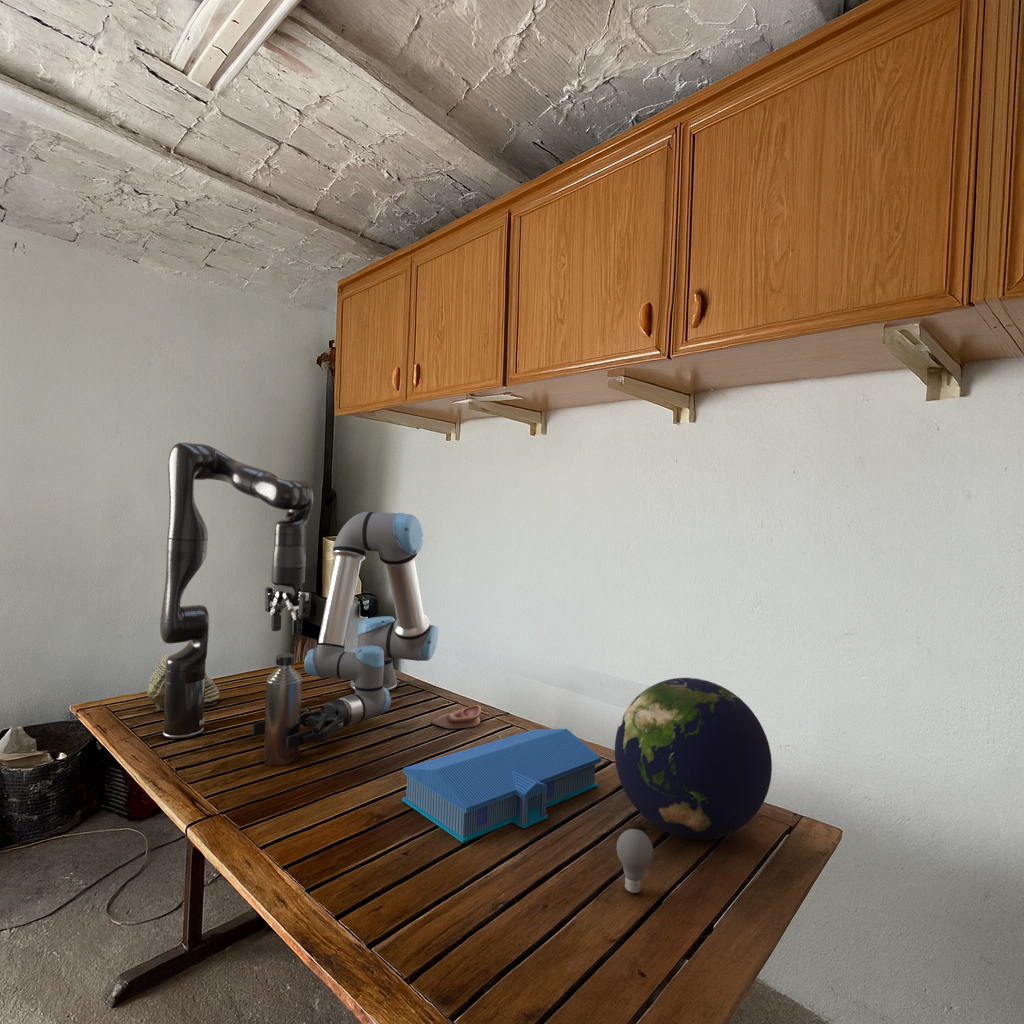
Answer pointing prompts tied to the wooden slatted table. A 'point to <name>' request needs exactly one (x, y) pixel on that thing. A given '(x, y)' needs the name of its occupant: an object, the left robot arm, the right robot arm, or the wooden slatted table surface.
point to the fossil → (158, 687)
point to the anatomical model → (460, 718)
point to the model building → (501, 782)
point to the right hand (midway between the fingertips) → (269, 736)
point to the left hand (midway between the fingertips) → (286, 632)
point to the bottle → (282, 715)
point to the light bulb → (634, 857)
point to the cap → (285, 659)
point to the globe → (693, 758)
